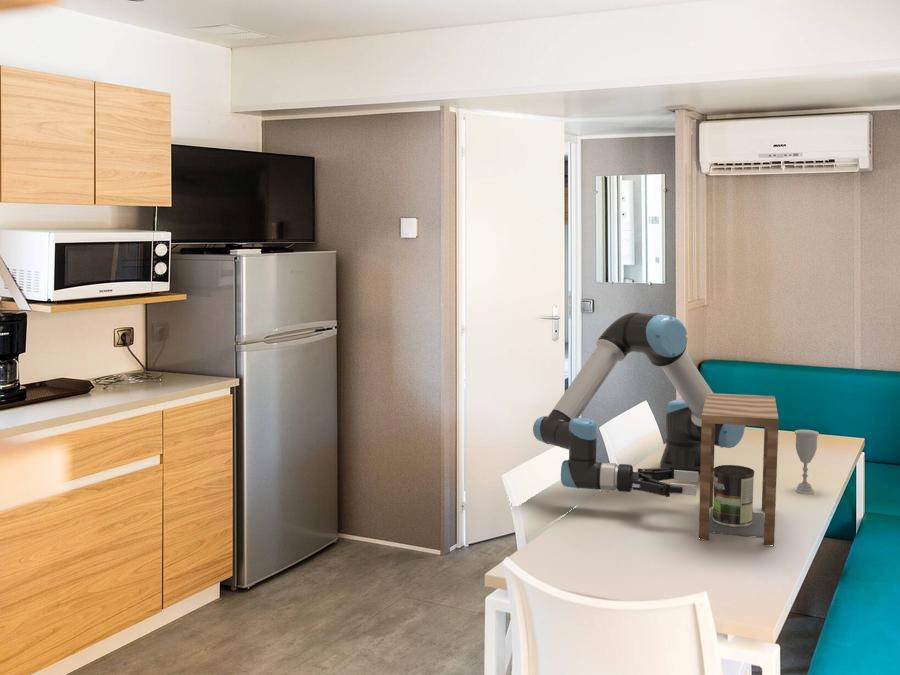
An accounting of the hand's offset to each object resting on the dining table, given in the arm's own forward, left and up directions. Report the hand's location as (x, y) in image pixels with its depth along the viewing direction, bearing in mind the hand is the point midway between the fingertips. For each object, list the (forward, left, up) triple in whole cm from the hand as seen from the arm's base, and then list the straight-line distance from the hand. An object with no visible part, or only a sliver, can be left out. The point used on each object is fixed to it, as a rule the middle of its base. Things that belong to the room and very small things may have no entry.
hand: (697, 483), depth 244 cm
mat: (0, +10, -10) cm, 14 cm away
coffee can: (0, +9, -10) cm, 14 cm away
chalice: (-37, +29, -10) cm, 48 cm away
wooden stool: (0, +10, -10) cm, 14 cm away
